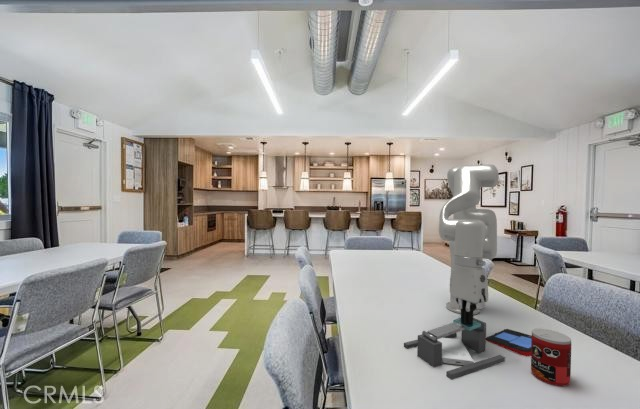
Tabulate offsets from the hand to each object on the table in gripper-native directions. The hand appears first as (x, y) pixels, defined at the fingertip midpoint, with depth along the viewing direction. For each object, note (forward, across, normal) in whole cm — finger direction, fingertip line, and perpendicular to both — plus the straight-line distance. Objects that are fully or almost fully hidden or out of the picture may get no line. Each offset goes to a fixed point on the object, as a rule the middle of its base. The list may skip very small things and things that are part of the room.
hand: (466, 322), depth 85 cm
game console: (+9, -2, -20) cm, 22 cm away
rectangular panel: (+2, +1, +6) cm, 6 cm away
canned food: (+9, -17, -9) cm, 21 cm away
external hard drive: (+8, +1, +5) cm, 10 cm away
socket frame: (+8, +1, +5) cm, 10 cm away
